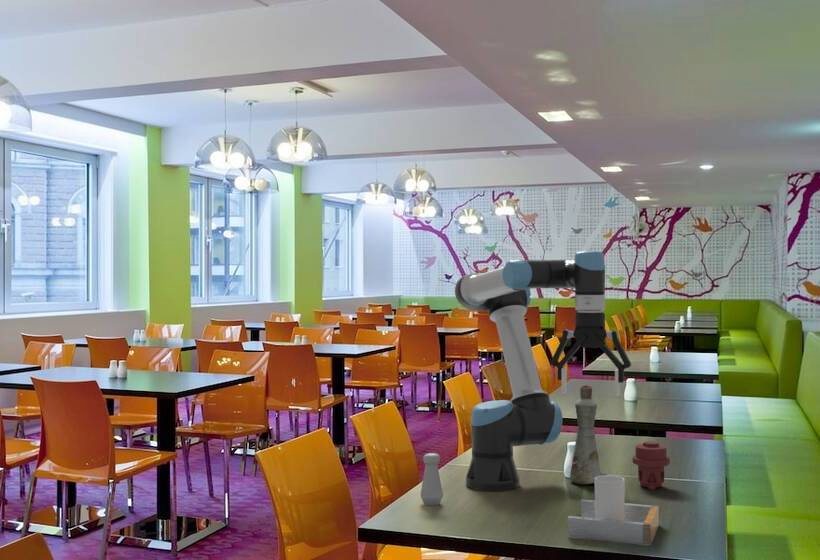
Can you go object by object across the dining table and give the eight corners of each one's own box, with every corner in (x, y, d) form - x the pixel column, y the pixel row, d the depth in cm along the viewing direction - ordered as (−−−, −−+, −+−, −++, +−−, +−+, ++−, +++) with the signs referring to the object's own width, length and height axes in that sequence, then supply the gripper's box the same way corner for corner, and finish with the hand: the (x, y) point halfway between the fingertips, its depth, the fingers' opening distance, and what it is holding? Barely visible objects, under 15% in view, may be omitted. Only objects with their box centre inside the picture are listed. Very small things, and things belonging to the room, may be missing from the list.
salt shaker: (427, 507, 220) (426, 457, 220) (416, 502, 225) (416, 453, 225) (447, 505, 223) (446, 454, 223) (436, 500, 228) (435, 451, 228)
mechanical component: (668, 483, 244) (671, 491, 234) (631, 482, 246) (633, 490, 236) (667, 439, 244) (671, 446, 234) (631, 438, 246) (633, 445, 236)
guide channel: (567, 537, 194) (567, 517, 194) (582, 518, 209) (581, 499, 209) (650, 546, 187) (650, 525, 187) (658, 525, 203) (658, 506, 203)
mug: (625, 536, 193) (625, 482, 193) (595, 534, 194) (594, 481, 194) (623, 523, 203) (623, 472, 203) (594, 522, 204) (594, 471, 204)
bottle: (582, 487, 240) (581, 387, 240) (563, 480, 248) (562, 383, 248) (608, 484, 244) (606, 385, 244) (589, 477, 252) (588, 382, 252)
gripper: (538, 311, 222) (539, 393, 223) (637, 312, 213) (638, 398, 213) (545, 310, 229) (546, 390, 229) (641, 311, 220) (642, 394, 220)
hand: (590, 394), depth 221 cm, fingers open, 13 cm apart
